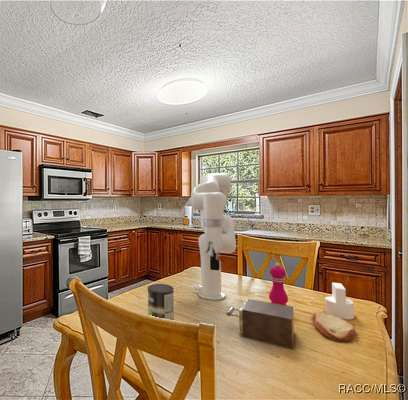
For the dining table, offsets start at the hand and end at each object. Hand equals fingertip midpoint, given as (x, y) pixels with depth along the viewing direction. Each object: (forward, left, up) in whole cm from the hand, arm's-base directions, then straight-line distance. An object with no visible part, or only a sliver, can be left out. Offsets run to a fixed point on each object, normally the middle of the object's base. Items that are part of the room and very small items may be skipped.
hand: (214, 269), depth 108 cm
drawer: (+14, 0, -20) cm, 25 cm away
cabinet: (+18, 0, -21) cm, 28 cm away
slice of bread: (+36, +18, -21) cm, 46 cm away
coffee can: (-18, -12, -21) cm, 30 cm away
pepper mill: (+19, +30, -21) cm, 41 cm away
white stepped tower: (+40, +35, -21) cm, 57 cm away
